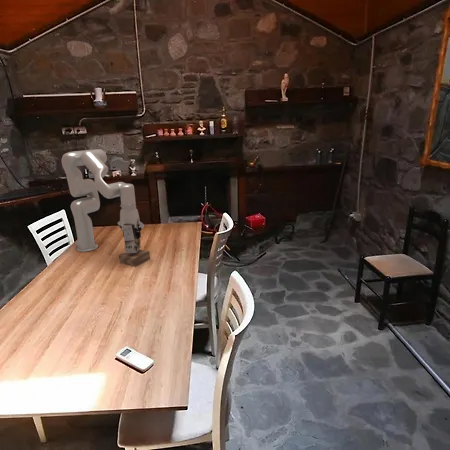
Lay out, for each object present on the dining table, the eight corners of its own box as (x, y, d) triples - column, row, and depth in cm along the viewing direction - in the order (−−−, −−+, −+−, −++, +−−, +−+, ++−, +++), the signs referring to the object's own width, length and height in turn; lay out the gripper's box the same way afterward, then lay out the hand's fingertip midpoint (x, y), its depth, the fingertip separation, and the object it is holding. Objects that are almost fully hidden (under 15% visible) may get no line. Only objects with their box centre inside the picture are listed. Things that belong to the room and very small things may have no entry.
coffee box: (137, 253, 192) (134, 225, 187) (125, 253, 192) (122, 225, 188) (141, 247, 201) (138, 220, 196) (130, 247, 201) (127, 220, 196)
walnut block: (119, 263, 197) (118, 255, 195) (134, 256, 207) (133, 248, 205) (135, 267, 191) (134, 258, 189) (150, 259, 201) (149, 251, 199)
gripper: (111, 207, 189) (114, 238, 194) (138, 209, 183) (141, 241, 188) (119, 204, 196) (123, 234, 201) (146, 206, 190) (149, 237, 195)
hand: (132, 237), depth 195 cm, fingers closed on coffee box, 8 cm apart
